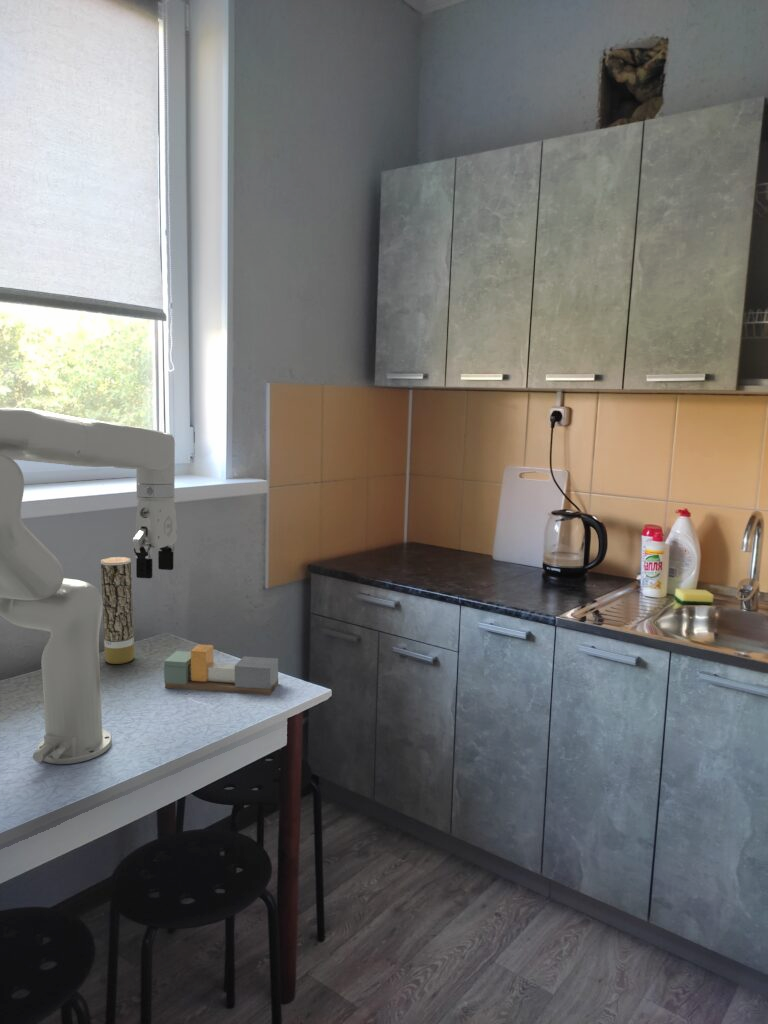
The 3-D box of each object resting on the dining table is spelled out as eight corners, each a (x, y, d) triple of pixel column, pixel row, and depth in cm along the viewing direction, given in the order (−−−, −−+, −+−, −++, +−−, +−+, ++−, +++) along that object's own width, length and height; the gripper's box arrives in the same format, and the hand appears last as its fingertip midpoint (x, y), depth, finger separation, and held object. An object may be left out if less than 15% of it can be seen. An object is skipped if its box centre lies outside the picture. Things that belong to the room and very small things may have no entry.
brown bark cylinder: (115, 667, 174) (111, 564, 170) (99, 660, 178) (94, 560, 174) (140, 659, 180) (136, 559, 176) (124, 653, 184) (120, 555, 180)
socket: (186, 684, 161) (185, 662, 161) (164, 682, 162) (163, 661, 161) (198, 672, 168) (197, 651, 168) (177, 671, 169) (176, 650, 168)
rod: (239, 684, 161) (239, 653, 160) (173, 679, 163) (172, 649, 162) (245, 676, 166) (245, 647, 164) (181, 672, 167) (180, 643, 166)
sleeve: (270, 689, 159) (270, 668, 159) (234, 687, 160) (234, 666, 160) (278, 678, 166) (278, 658, 165) (243, 676, 167) (243, 656, 166)
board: (270, 695, 159) (270, 689, 159) (165, 687, 163) (164, 682, 162) (278, 683, 166) (278, 678, 166) (177, 676, 169) (177, 671, 169)
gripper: (153, 496, 143) (153, 582, 144) (190, 490, 160) (189, 567, 161) (117, 494, 144) (117, 580, 145) (157, 488, 161) (157, 565, 162)
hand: (155, 573), depth 153 cm, fingers open, 9 cm apart
